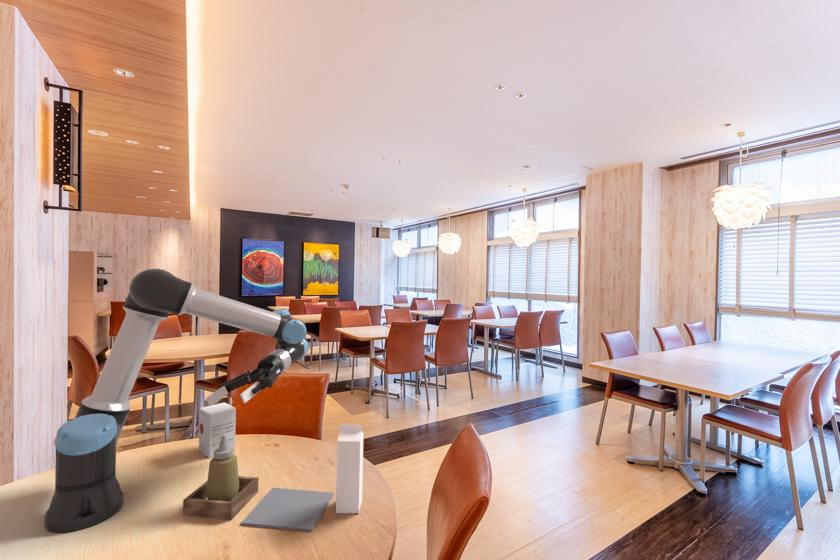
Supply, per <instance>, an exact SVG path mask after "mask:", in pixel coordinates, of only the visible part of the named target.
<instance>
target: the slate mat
mask: <svg viewBox="0 0 840 560" xmlns="http://www.w3.org/2000/svg"><path fill="white" fill-rule="evenodd" d="M334 493H335V492H331V491H330V492H329V491H319V490H318V491H316V490H305V489H294V488H282V487H281V488H280V487H272V488H271V489H270V490H269V491H268V492H267V493H266V495H265V496H264V497H263V498H262V499H261V500H260V501H259V502H258V504H257V505H256V506H255V507H254V508H253V509H252V510H251V511H250V512H249V514H248V515H247V516H246V517H244V519H243V520H242V521H241V522H240V525H241V526H247V527H259V528H269V529H279V530H280V529H281V530H291V531H303V532H313V531H314V529H315V527H316V526H317V524H318V522H319V520H320V519H321V517H322V515H323V514H324V512H325V511H326V509H327V507H328V505H329V504H328V503H330V502H331V500H332V499H333V497H334V495H335V494H334ZM332 496H333V497H332ZM329 501H330V502H329ZM325 508H326V509H325ZM316 523H317V524H316ZM315 525H316V526H315Z"/></svg>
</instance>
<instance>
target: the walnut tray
mask: <svg viewBox="0 0 840 560" xmlns="http://www.w3.org/2000/svg"><path fill="white" fill-rule="evenodd" d="M238 476H239V490H238V493H237V495H236V496H235V497H234V498H233V499H232V500H231V501H218V500H208V498H207V496H206V488H207V481H205V482H204V483H203V484H201V485H200V486H199V487H197V488H196V489H195V490H194V491H192V492H191V493H190V494H189V495H187V496H186V497H185V498H184V499H183V500H182V517H183V516H184V517H196V518H204V519H216V520H225V521H227V520H228V521H232V520H233V519H234V518H235V517H236V515H238V514H239V513H240V511H242V509H244V508H245V507H246V506H247V504H248V503H249V502H250V501H251V500H252V499H253V498H254V497H255V496H256V495H257V494H258V493H259V477H254V476H243V475H238Z"/></svg>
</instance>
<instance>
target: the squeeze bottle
mask: <svg viewBox="0 0 840 560" xmlns="http://www.w3.org/2000/svg"><path fill="white" fill-rule="evenodd" d="M239 476H240V475H239V467H238V458H237V455H235V454H234V450H233V448H232V447H230V446H229V445H228V441H227V437H226V435H223V436H221V440H220V445H219V448H217V449H216V450H214V457H212V458H210V461H209V466H208V474H207V488H206V496H207V500H218V501H231V500H232V499H233V498H234V497H235V496H236V495H237V494H238V493H239V492H238V490H239Z"/></svg>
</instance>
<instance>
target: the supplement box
mask: <svg viewBox="0 0 840 560" xmlns="http://www.w3.org/2000/svg"><path fill="white" fill-rule="evenodd" d="M198 412H199V414H198V415H199V417H198V419H199V420H198V421H199V422H198V423H199V424H198V425H199V426H198V430H199V431H198V452H200V453H202V454H203V455H205V457H207V458H209V459H212V458H214V450H216V449H217V448H219V445H220V440H221V436H223V435H226V437H227V441H228V445H229V446H230V447H232V448H233V451H235V450H236V424H237V423H236V421H237V417H236V416H237V415H236V414H237V413H236V412H237V408H236V407H234V406H232V405H231V404H229V403H227V402H225V401H224V402H221V403H215V404H213V405H212V406H209V405H208V406H202V407H199V411H198Z"/></svg>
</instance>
